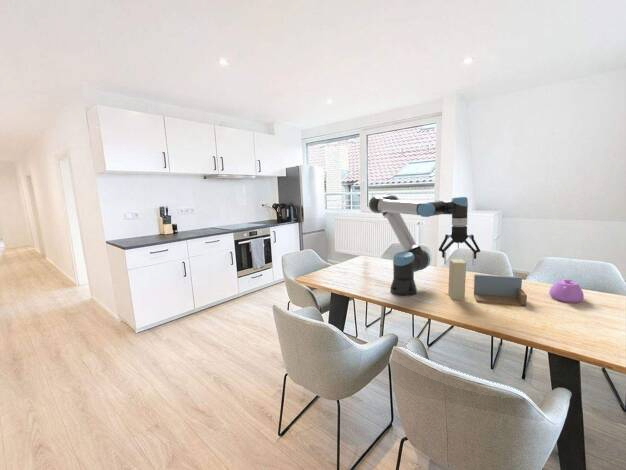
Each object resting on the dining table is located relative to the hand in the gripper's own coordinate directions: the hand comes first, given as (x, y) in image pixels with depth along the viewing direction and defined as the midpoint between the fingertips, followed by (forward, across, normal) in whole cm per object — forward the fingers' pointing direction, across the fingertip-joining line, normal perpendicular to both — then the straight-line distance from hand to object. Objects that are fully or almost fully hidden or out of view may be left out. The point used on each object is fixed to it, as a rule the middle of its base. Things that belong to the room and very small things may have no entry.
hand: (458, 264), depth 160 cm
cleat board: (+19, +20, +1) cm, 28 cm away
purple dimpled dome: (+20, +53, +13) cm, 58 cm away
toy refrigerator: (+19, 0, 0) cm, 19 cm away
